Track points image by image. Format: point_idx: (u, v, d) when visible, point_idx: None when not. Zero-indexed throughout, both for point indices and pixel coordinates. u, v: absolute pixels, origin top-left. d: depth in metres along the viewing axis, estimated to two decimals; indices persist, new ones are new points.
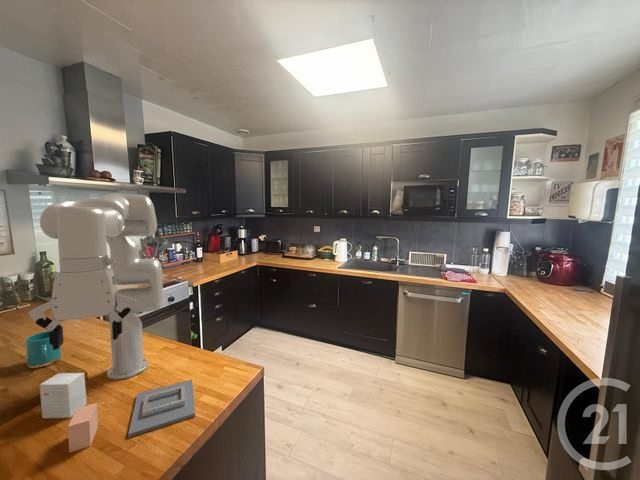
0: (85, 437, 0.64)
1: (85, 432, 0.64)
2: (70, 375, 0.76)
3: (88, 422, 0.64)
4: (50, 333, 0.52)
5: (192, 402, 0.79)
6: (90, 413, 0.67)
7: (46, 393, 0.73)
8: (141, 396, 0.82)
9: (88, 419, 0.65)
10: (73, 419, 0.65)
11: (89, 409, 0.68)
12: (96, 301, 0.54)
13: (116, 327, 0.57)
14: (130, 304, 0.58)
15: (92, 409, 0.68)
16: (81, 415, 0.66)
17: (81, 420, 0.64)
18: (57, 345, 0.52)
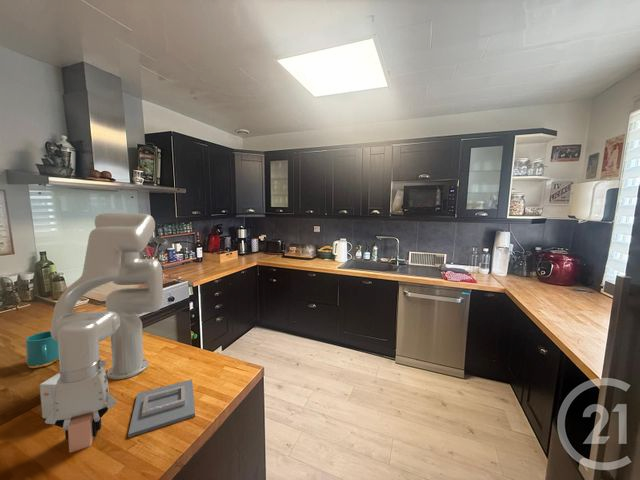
0: (85, 437, 0.64)
1: (85, 432, 0.64)
2: None
3: (88, 422, 0.64)
4: (66, 431, 0.64)
5: (192, 402, 0.79)
6: (90, 413, 0.67)
7: (46, 393, 0.73)
8: (141, 396, 0.82)
9: (88, 419, 0.65)
10: (73, 419, 0.64)
11: None
12: (90, 401, 0.65)
13: (95, 426, 0.67)
14: (110, 405, 0.69)
15: None
16: (81, 415, 0.66)
17: (81, 420, 0.64)
18: None
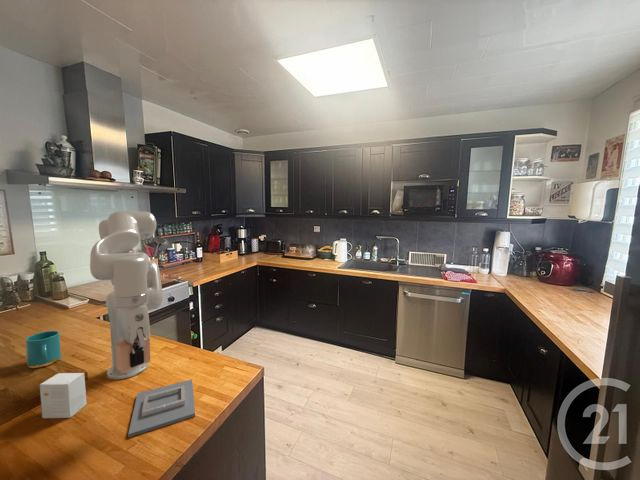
0: (119, 362, 0.69)
1: (119, 357, 0.69)
2: (70, 375, 0.76)
3: (120, 349, 0.69)
4: None
5: (192, 402, 0.79)
6: None
7: (46, 393, 0.73)
8: (141, 396, 0.82)
9: (122, 347, 0.69)
10: (125, 341, 0.72)
11: None
12: (125, 331, 0.69)
13: (132, 357, 0.70)
14: (139, 345, 0.69)
15: None
16: None
17: (122, 344, 0.70)
18: None
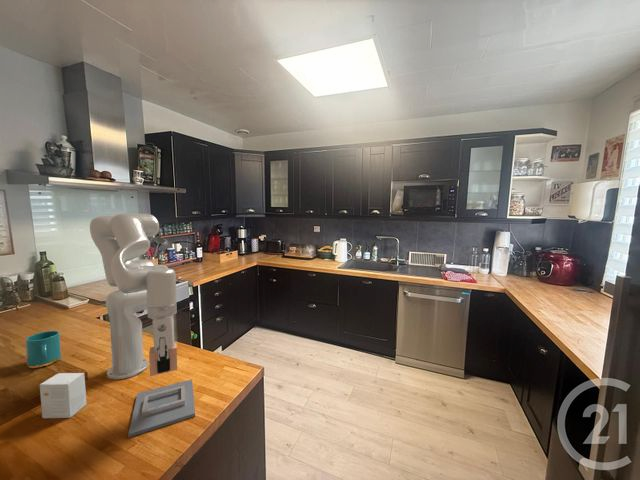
0: None
1: None
2: (70, 375, 0.76)
3: (149, 354, 0.74)
4: None
5: (192, 402, 0.79)
6: None
7: (46, 393, 0.73)
8: (141, 396, 0.82)
9: (151, 352, 0.75)
10: None
11: None
12: (153, 338, 0.74)
13: (158, 364, 0.75)
14: (160, 355, 0.72)
15: None
16: None
17: (153, 350, 0.76)
18: None
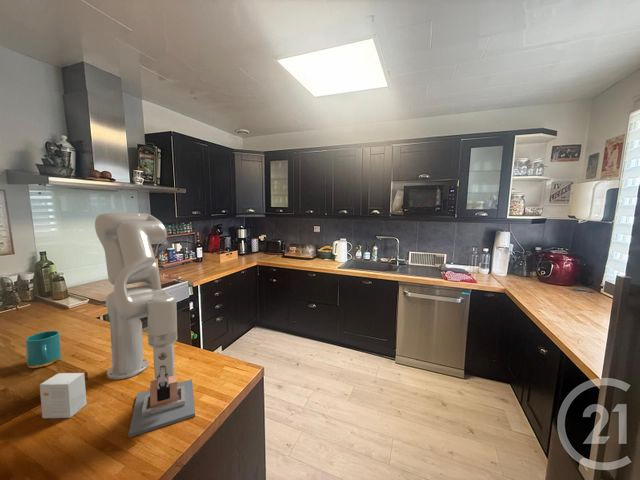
0: None
1: (150, 396, 0.76)
2: (70, 375, 0.76)
3: (150, 389, 0.75)
4: None
5: (192, 402, 0.79)
6: None
7: (46, 393, 0.73)
8: (141, 396, 0.82)
9: (152, 387, 0.76)
10: None
11: None
12: None
13: (158, 392, 0.74)
14: (160, 381, 0.71)
15: None
16: None
17: (154, 384, 0.77)
18: None
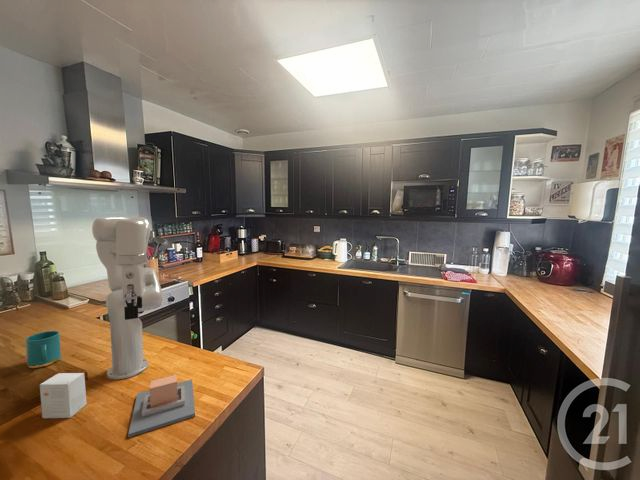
0: None
1: (150, 396, 0.76)
2: (70, 375, 0.76)
3: (150, 389, 0.75)
4: None
5: (192, 402, 0.79)
6: (161, 384, 0.77)
7: (46, 393, 0.73)
8: (141, 396, 0.82)
9: (152, 387, 0.76)
10: (159, 379, 0.79)
11: (168, 381, 0.78)
12: None
13: (126, 310, 0.75)
14: None
15: (167, 383, 0.78)
16: (161, 381, 0.79)
17: (154, 384, 0.77)
18: None
